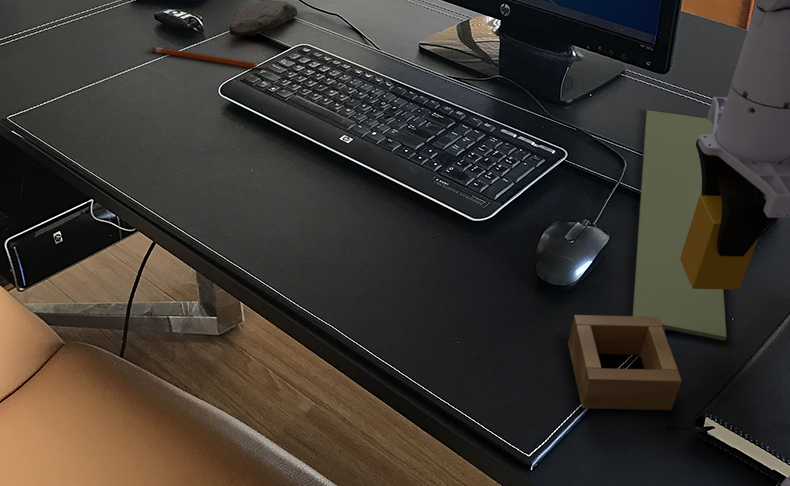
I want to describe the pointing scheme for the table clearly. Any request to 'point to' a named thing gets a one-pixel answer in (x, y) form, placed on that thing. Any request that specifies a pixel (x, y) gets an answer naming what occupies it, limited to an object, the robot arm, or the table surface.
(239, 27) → the stone
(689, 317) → the mat
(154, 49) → the pencil
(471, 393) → the table surface
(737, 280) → the block
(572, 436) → the table surface
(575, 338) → the stand
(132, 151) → the table surface
